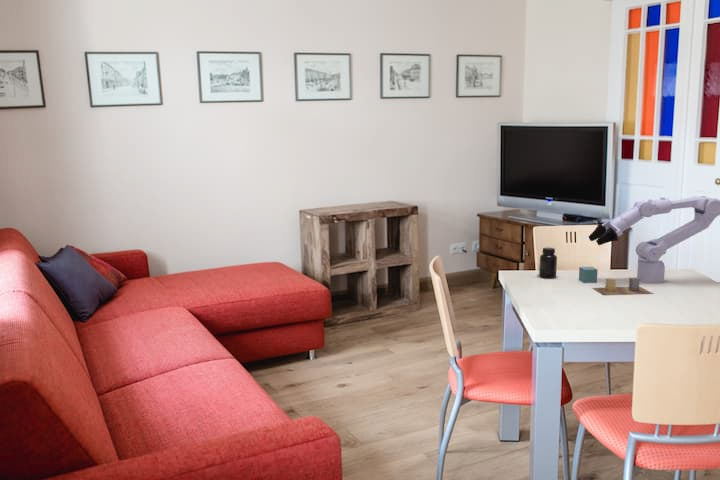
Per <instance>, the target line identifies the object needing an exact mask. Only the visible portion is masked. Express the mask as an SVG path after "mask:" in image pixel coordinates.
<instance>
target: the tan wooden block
mask: <svg viewBox="0 0 720 480" xmlns="http://www.w3.org/2000/svg"><path fill="white" fill-rule="evenodd" d="M616 284H617V280H616V279H615V278H613V277H611V278H610V277H609V278H607V277H606V278H605V290H606V291H607V292H615V287H617V286H616Z"/></svg>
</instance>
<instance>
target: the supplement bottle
mask: <svg viewBox="0 0 720 480" xmlns="http://www.w3.org/2000/svg"><path fill="white" fill-rule="evenodd" d="M555 254H556V248H555V247H543V248H542V254H541V255H539V268H538V269H539V271H538V275H539V277H540V278H542V279H555V278H556V277H557V267H558V266H557V265H558V257H557V255H555Z"/></svg>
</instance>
